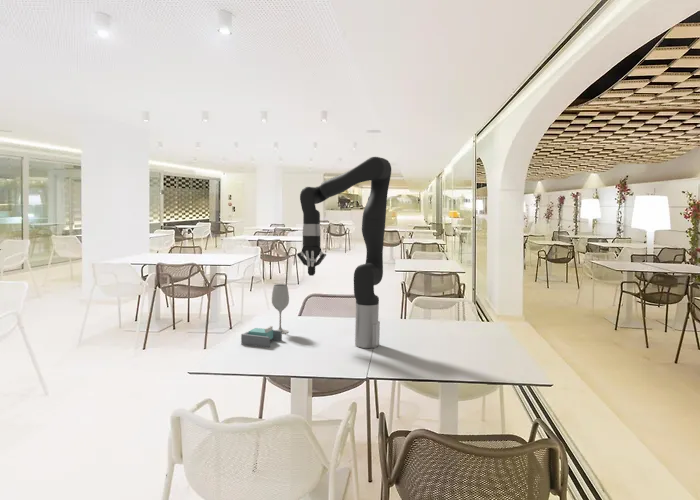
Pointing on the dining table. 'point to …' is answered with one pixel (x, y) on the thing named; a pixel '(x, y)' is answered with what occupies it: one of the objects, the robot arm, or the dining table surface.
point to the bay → (260, 339)
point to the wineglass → (280, 300)
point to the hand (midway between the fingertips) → (311, 275)
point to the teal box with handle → (262, 332)
